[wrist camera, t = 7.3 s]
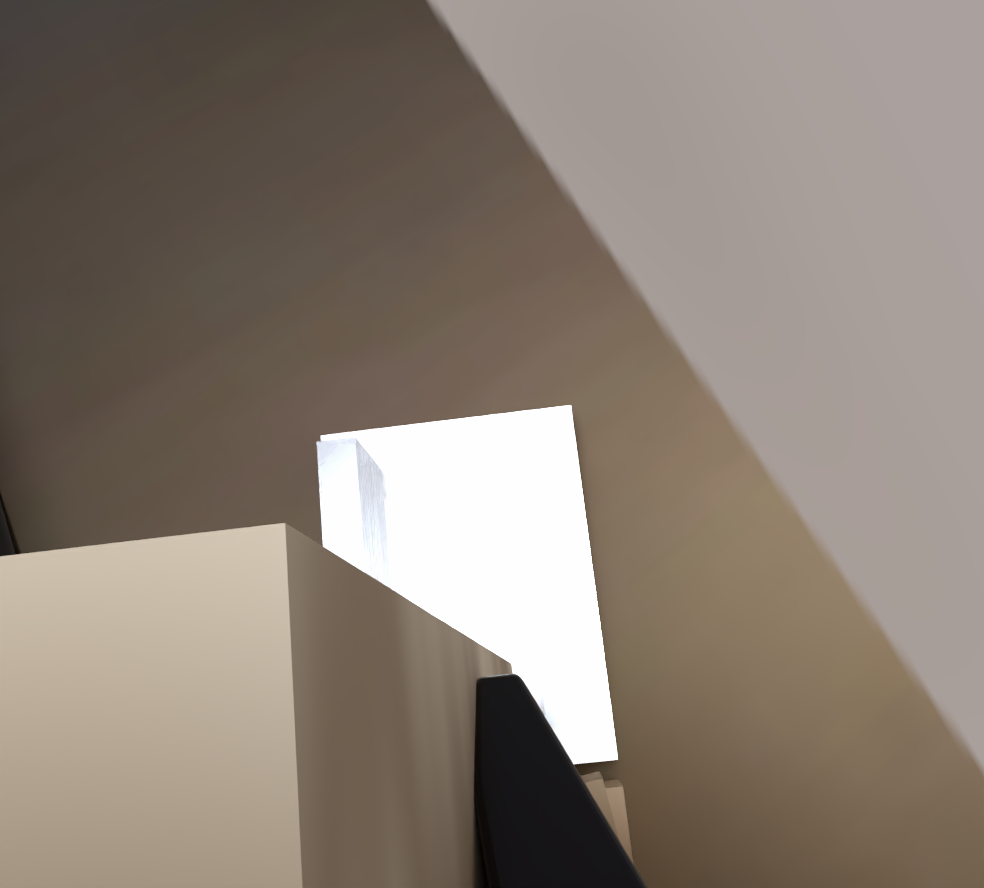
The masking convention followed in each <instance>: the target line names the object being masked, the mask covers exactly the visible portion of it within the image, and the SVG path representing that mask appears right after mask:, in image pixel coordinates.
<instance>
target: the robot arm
mask: <svg viewBox="0 0 984 888" xmlns="http://www.w3.org/2000/svg"><path fill="white" fill-rule="evenodd" d="M474 803H475V810H476V816H477V822H478V828H479V833H480V839H481V845H482V851H483V857H484V862H485V868H486V874H487V880H488V886H489V888H647V886H646V884H645V883H644V881H643V879H642V878H641V876H640V874H639V873H638V871H637V869H636V868H635V866H634V864H633V863H632V861H631V859H630V858H629V856H628V854H627V852H626V851H625V849H624V847H623V846H622V844H621V842H620V841H619V839H618V837H617V836H616V834H615V832H614V831H613V829H612V827H611V826H610V824H609V822H608V821H607V819H606V817H605V816H604V814H603V812H602V811H601V809H600V807H599V806H598V804H597V802H596V801H595V799H594V797H593V796H592V794H591V792H590V791H589V789H588V787H587V786H586V784H585V782H584V781H583V779H582V777H581V776H580V774H579V772H578V771H577V769H576V767H575V766H574V764H573V762H572V761H571V759H570V757H569V756H568V754H567V752H566V751H565V749H564V747H563V746H562V744H561V742H560V741H559V739H558V737H557V736H556V734H555V732H554V731H553V729H552V727H551V726H550V724H549V722H548V721H547V719H546V717H545V716H544V714H543V712H542V711H541V709H540V707H539V706H538V704H537V702H536V701H535V699H534V697H533V696H532V694H531V692H530V691H529V689H528V687H527V686H526V684H525V682H524V681H523V679H522V678H521V677H520V676H519V675H517V674H513V673H512V674H503V675H494V676H485V677H480V678H479V679H477V682H476V717H475V758H474Z"/></svg>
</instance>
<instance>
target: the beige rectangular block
mask: <svg viewBox="0 0 984 888" xmlns="http://www.w3.org/2000/svg"><path fill="white" fill-rule="evenodd" d="M512 673H513V671H512V663H510V662H508V661H507V660H505V659H504V658H502V657H500V656H499V655H497V654H496V653H494V652H492V651H491V650H489V649H488V648H486V647H484V646H483V645H481V644H479V643H478V642H476V641H475V640H473V639H471V638H470V637H468V636H467V635H465V634H463V633H462V632H460V631H459V630H457V629H455V628H454V627H452V626H450V625H449V624H447V623H446V622H444V621H442V620H441V619H439V618H438V617H436V616H434V615H433V614H431V613H429V612H428V611H426V610H425V609H423V608H421V607H420V606H418V605H417V604H415V603H413V602H412V601H410V600H409V599H407V598H405V597H404V596H402V595H400V594H399V593H397V592H396V591H394V590H392V589H391V588H389V587H388V586H386V585H384V584H383V583H381V582H380V581H378V580H376V579H375V578H373V577H371V576H370V575H368V574H367V573H365V572H363V571H362V570H360V569H359V568H357V567H355V566H354V565H352V564H350V563H349V562H347V561H346V560H344V559H342V558H341V557H339V556H338V555H336V554H334V553H333V552H331V551H330V550H328V549H326V548H325V547H323V546H321V545H320V544H318V543H317V542H315V541H313V540H312V539H310V538H309V537H307V536H305V535H304V534H302V533H301V532H299V531H297V530H296V529H294V528H292V527H291V526H289V525H288V524H286V523H281V524H272V525H264V526H255V527H247V528H238V529H230V530H221V531H213V532H204V533H196V534H187V535H178V536H170V537H161V538H153V539H144V540H136V541H127V542H119V543H110V544H102V545H93V546H85V547H76V548H68V549H59V550H51V551H42V552H34V553H25V554H17V555H8V556H0V888H489V886H488V880H487V874H486V868H485V862H484V857H483V851H482V845H481V839H480V833H479V828H478V822H477V816H476V810H475V803H474V758H475V717H476V682H477V679H479V678H480V677H485V676H494V675H503V674H512Z"/></svg>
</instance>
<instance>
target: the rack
mask: <svg viewBox="0 0 984 888" xmlns="http://www.w3.org/2000/svg"><path fill="white" fill-rule="evenodd" d="M317 455H318V471H319V488H320V504H321V520H322V537H323V547H325V548H326V549H328V550H330V551H331V552H333V553H334V554H336V555H338V556H339V557H341V558H342V559H344V560H346V561H347V562H349V563H350V564H352V565H354V566H355V567H357V568H359V569H360V570H362V571H363V572H365V573H367V574H368V575H370V576H371V577H373V578H375V579H376V580H378V581H380V582H381V583H383V584H384V585H386V586H388V587H389V588H391V589H392V590H394V591H396V592H397V593H399V594H400V595H402V596H404V597H405V598H407V599H409V600H410V601H412V602H413V603H415V604H417V605H418V606H420V607H421V608H423V609H425V610H426V611H428V612H429V613H431V614H433V615H434V616H436V617H438V618H439V619H441V620H442V621H444V622H446V623H447V624H449V625H450V626H452V627H454V628H455V629H457V630H459V631H460V632H462V633H463V634H465V635H467V636H468V637H470V638H471V639H473V640H475V641H476V642H478V643H479V644H481V645H483V646H484V647H486V648H488V649H489V650H491V651H492V652H494V653H496V654H497V655H499V656H500V657H502V658H504V659H505V660H507V661H508V662H510V663H512V671H513V674H517V675H519V676H520V677H521V678H522V679H523V681H524V682H525V684H526V686H527V687H528V689H529V691H530V692H531V694H532V696H533V697H534V699H535V701H536V702H537V704H538V706H539V707H540V709H541V711H542V712H543V714H544V716H545V717H546V719H547V721H548V722H549V724H550V726H551V727H552V729H553V731H554V732H555V734H556V736H557V737H558V739H559V741H560V742H561V744H562V746H563V747H564V749H565V751H566V752H567V754H568V756H569V757H570V759H571V761H572V762H573V764H582V763H591V762H600V761H610V760H618V755H617V747H616V740H615V732H614V725H613V717H612V710H611V702H610V695H609V687H608V680H607V672H606V665H605V657H604V650H603V642H602V635H601V627H600V620H599V612H598V605H597V597H596V590H595V582H594V575H593V567H592V560H591V552H590V545H589V537H588V530H587V522H586V515H585V507H584V500H583V492H582V485H581V477H580V470H579V462H578V455H577V447H576V440H575V432H574V425H573V417H572V410H571V405H568V406H560V407H552V408H543V409H535V410H527V411H519V412H511V413H502V414H494V415H486V416H478V417H469V418H461V419H453V420H445V421H437V422H428V423H420V424H412V425H404V426H396V427H387V428H379V429H371V430H363V431H354V432H346V433H338V434H330V435H322V436H321V441H319V442H317Z"/></svg>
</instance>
